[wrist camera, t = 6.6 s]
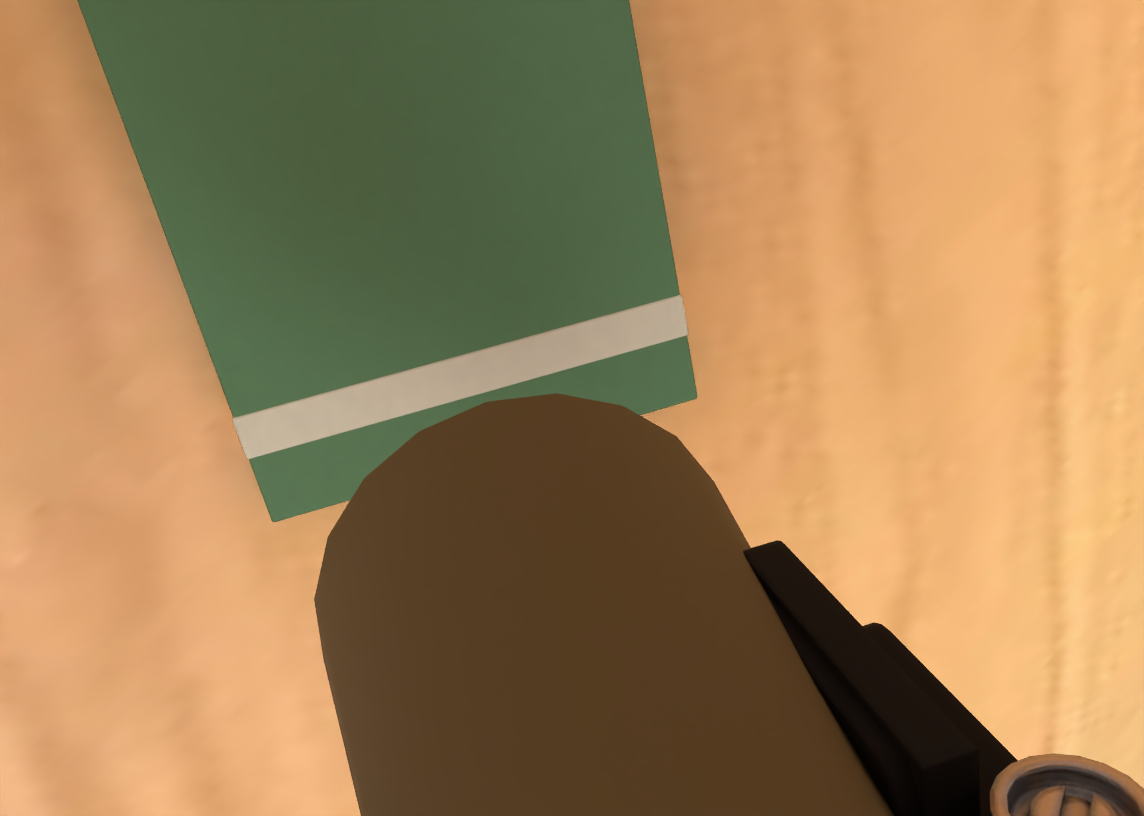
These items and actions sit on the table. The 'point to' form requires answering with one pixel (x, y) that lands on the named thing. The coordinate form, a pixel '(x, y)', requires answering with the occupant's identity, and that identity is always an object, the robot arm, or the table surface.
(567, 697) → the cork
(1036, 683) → the table surface
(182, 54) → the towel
